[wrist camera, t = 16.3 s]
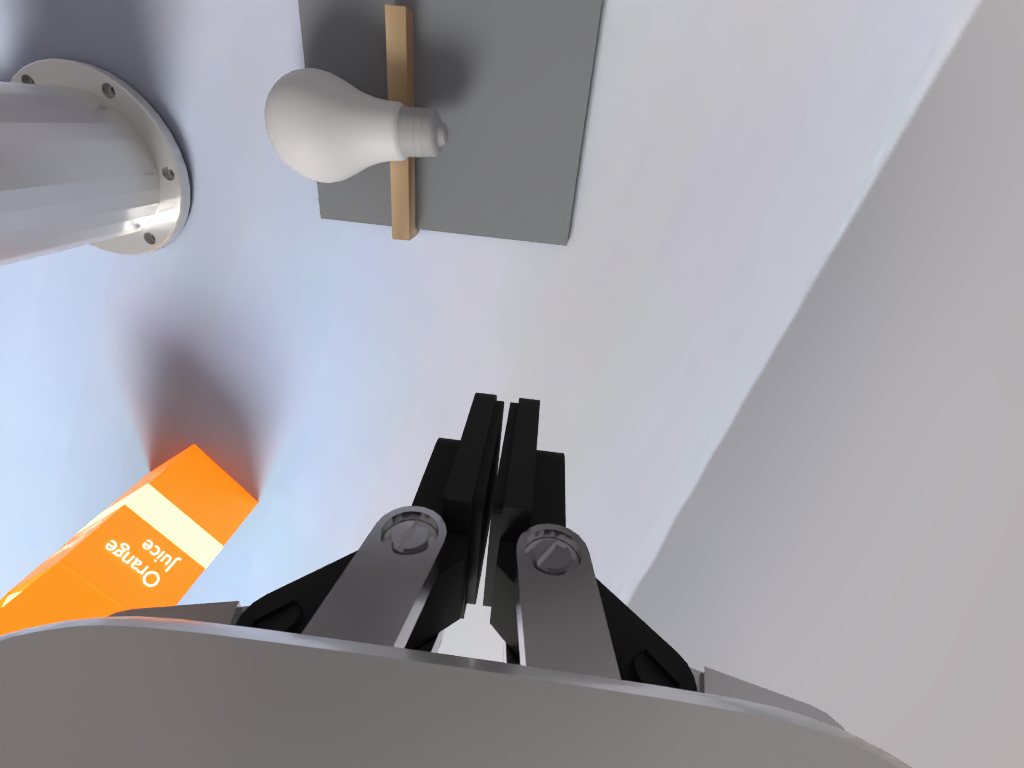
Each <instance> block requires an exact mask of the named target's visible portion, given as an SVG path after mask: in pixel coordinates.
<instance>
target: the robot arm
mask: <svg viewBox="0 0 1024 768" xmlns="http://www.w3.org/2000/svg"><path fill="white" fill-rule="evenodd" d="M189 208H190V184H189V178H188V173H187V168H186V165H185V163H184V160H183V157H182V154H181V151H180V149H179V147H178V145H177V143H176V141H175V139H174V137H173V135H172V133H171V132H170V130H169V129H168V127H167V126H166V124H165V123H164V122H163V120H162V119H161V117H160V116H159V114H158V113H157V112H156V111H155V110H154V109H153V108H152V107H151V105H150V104H149V103H148V102H147V101H146V100H145V99H144V98H143V97H142V96H141V95H140V94H139V93H137V92H136V91H135V90H134V89H133V88H132V87H130V86H129V85H128V84H127V83H125V82H124V81H122V80H121V79H119V78H117V77H116V76H114V75H113V74H111V73H110V72H108V71H105V70H103V69H101V68H98V67H96V66H93V65H91V64H87V63H83V62H78V61H73V60H64V59H54V58H51V59H45V60H38V61H35V62H33V63H31V64H28V65H26V66H24V67H22V68H21V69H20V70H19V71H18V72H17V73H16V74H15V75H14V76H13V77H12V79H11V81H10V82H1V81H0V266H4V265H8V264H11V263H15V262H19V261H23V260H27V259H31V258H35V257H39V256H43V255H47V254H51V253H55V252H59V251H63V250H67V249H71V248H75V247H79V246H83V245H87V244H89V245H91V246H94V247H97V248H99V249H102V250H104V251H107V252H112V253H117V254H122V255H138V254H143V253H148V252H151V251H154V250H157V249H160V248H163V247H164V246H166V245H167V244H169V243H170V242H172V241H173V240H174V239H175V238H176V237H177V236H178V234H179V233H180V232H181V231H182V229H183V227H184V224H185V222H186V220H187V218H188V213H189ZM539 408H540V400H533V399H525V398H519V403H512V402H511V403H510V408H509V414H508V419H507V425H506V430H505V436H504V442H503V447H502V453H501V458H500V464H499V470H498V463H499V452H500V442H501V431H502V420H503V410H504V401H497V395H492V394H484V393H476V394H475V396H474V399H473V403H472V406H471V409H470V412H469V415H468V418H467V422H466V425H465V428H464V431H463V434H462V437H461V440H453V439H445V438H439V439H438V440H437V442H436V445H435V447H434V450H433V452H432V455H431V457H430V460H429V462H428V465H427V468H426V470H425V473H424V475H423V478H422V480H421V483H420V486H419V488H418V491H417V493H416V496H415V498H414V501H413V503H412V506H408V507H401V508H398V509H395V510H392V511H391V512H389V513H387V514H386V515H384V516H383V517H382V518H381V519H380V520H379V521H378V522H377V523H376V525H375V526H374V528H373V529H372V531H371V532H370V533H369V535H368V536H367V538H366V539H365V541H364V542H363V544H362V545H361V547H360V548H359V550H358V551H356V552H354V553H351V554H349V555H347V556H345V557H343V558H341V559H339V560H337V561H335V562H333V563H331V564H329V565H327V566H325V567H322V568H320V569H318V570H316V571H314V572H312V573H310V574H308V575H306V576H304V577H302V578H300V579H298V580H296V581H293V582H291V583H289V584H287V585H285V586H283V587H281V588H279V589H277V590H275V591H273V592H271V593H269V594H267V595H265V596H263V597H262V598H260V599H258V600H257V601H255V602H253V603H252V604H251V605H250V606H245V607H241V606H240V603H239V601H233V602H219V603H205V604H192V605H178V606H165V607H151V608H137V609H129V610H125V611H120V612H116V613H114V614H111V615H109V616H107V617H96V618H86V619H75V620H66V621H61V622H56V623H51V624H46V625H41V626H36V627H31V628H26V629H22V630H19V631H15V632H12V633H8V634H4V635H1V636H0V768H912V767H910V766H909V765H907V764H906V763H904V762H902V761H901V760H899V759H898V758H896V757H894V756H893V755H891V754H889V753H888V752H886V751H884V750H882V749H880V748H878V747H876V746H874V745H872V744H870V743H868V742H866V741H864V740H862V739H860V738H858V737H857V736H855V735H852V734H851V733H849V732H846V731H845V730H844V728H843V727H842V726H841V725H840V724H839V723H837V722H836V721H835V720H834V719H832V717H830V716H829V715H828V714H827V713H825V712H823V711H821V710H819V709H817V708H815V707H813V706H811V705H809V704H806V703H803V702H800V701H797V700H795V699H792V698H789V697H787V696H784V695H781V694H778V693H776V692H773V691H770V690H767V689H765V688H762V687H759V686H757V685H754V684H751V683H748V682H746V681H743V680H740V679H737V678H735V677H732V676H729V675H726V674H724V673H721V672H718V671H715V670H713V669H710V668H707V667H704V668H703V670H702V672H701V671H698V670H695V669H692V668H690V667H689V666H688V664H687V663H686V662H685V661H684V659H683V658H682V657H681V656H680V655H679V654H678V653H677V652H676V651H675V650H674V649H673V648H672V647H671V646H670V645H669V644H668V643H667V642H665V641H664V640H663V639H662V638H661V637H660V636H659V635H658V634H657V633H656V632H654V631H653V630H652V629H651V628H650V627H649V626H648V625H647V624H646V623H645V622H644V621H642V620H641V619H640V618H639V617H638V616H637V615H636V614H635V613H634V612H632V610H630V609H629V608H628V607H627V606H626V605H625V604H624V603H623V602H622V601H621V600H619V599H618V598H617V597H616V596H615V595H614V594H613V593H612V592H611V591H610V590H609V589H607V588H606V587H605V586H604V585H603V584H602V583H601V582H600V581H599V580H598V579H597V578H596V577H595V574H594V570H593V566H592V562H591V558H590V554H589V551H588V548H587V546H586V544H585V542H584V541H583V540H582V539H581V538H580V536H579V535H577V534H576V533H575V532H573V531H572V530H570V529H568V528H566V515H565V456H564V453H556V452H548V451H540V450H536V449H537V436H538V422H539ZM497 473H498V475H497ZM490 520H491V523H490ZM489 526H490V534H489V545H488V556H487V567H486V578H485V589H484V600H483V606H490V607H492V608H491V617H490V624H491V625H492V626H493V627H494V629H495V630H496V631H497V632H498V633H499V635H500V636H501V637H502V638H503V640H504V646H503V660H504V663H503V662H496V661H489V660H482V659H475V658H468V657H461V656H454V655H447V654H440V653H437V652H438V650H439V647H440V644H441V642H442V638H443V633H444V629H445V628H447V627H448V626H450V625H451V624H453V623H454V622H456V621H457V620H459V619H460V618H462V619H464V614H465V609H466V604H467V603H469V604H476V599H477V594H478V588H479V582H480V577H481V571H482V565H483V560H484V554H485V548H486V543H487V537H488V531H489Z"/></svg>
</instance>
